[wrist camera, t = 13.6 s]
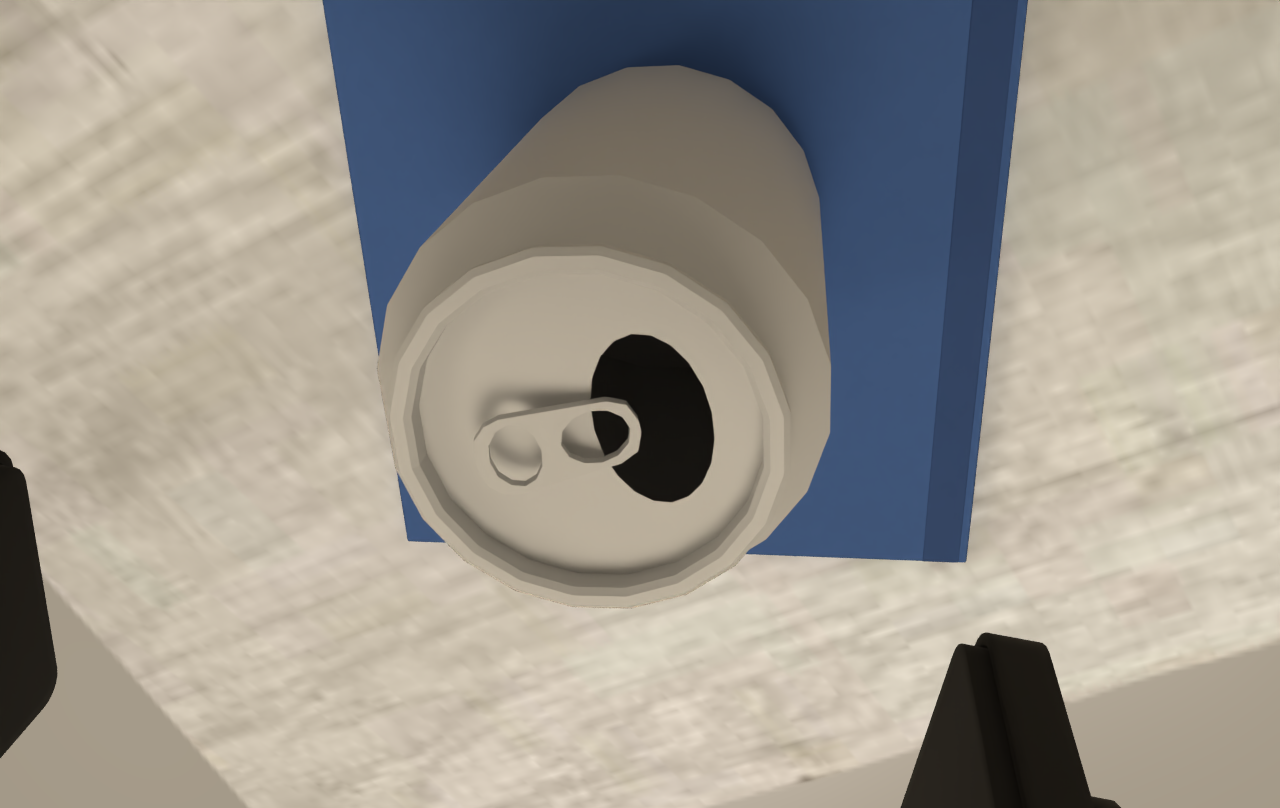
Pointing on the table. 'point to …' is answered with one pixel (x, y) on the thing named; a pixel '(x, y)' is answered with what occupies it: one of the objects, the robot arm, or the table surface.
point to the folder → (842, 173)
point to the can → (617, 345)
